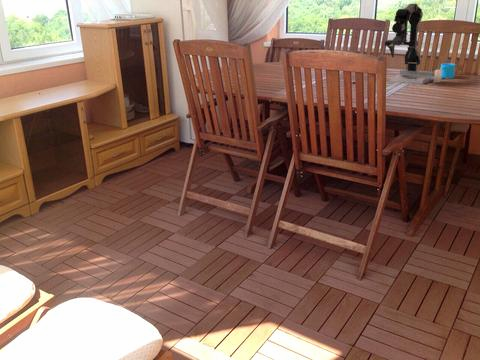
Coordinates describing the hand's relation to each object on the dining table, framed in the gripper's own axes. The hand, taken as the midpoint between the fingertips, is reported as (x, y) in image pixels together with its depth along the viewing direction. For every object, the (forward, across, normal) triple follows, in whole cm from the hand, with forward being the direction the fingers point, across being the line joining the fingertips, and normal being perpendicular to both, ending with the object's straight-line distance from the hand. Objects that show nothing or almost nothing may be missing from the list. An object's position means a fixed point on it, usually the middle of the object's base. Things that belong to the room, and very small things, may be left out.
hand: (400, 57), depth 302 cm
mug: (+15, +21, +23) cm, 34 cm away
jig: (+14, +6, +5) cm, 16 cm away
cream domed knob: (+14, +21, +9) cm, 27 cm away
